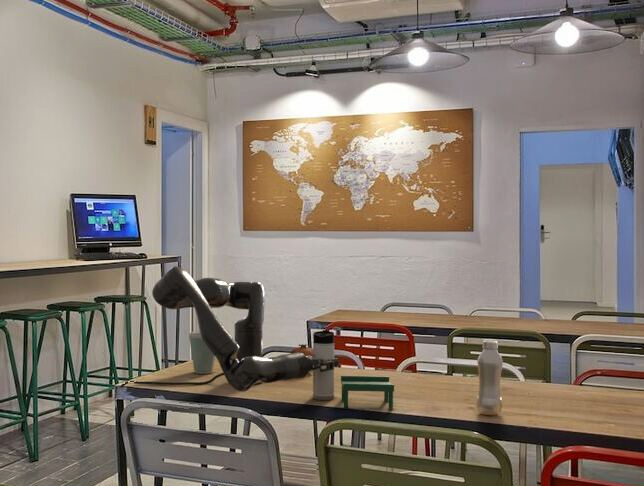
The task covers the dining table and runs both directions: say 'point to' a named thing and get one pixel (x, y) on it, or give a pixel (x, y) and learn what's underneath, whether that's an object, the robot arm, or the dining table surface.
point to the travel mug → (324, 350)
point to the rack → (367, 387)
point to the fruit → (303, 350)
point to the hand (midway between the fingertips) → (329, 360)
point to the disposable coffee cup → (201, 354)
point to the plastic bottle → (489, 379)
